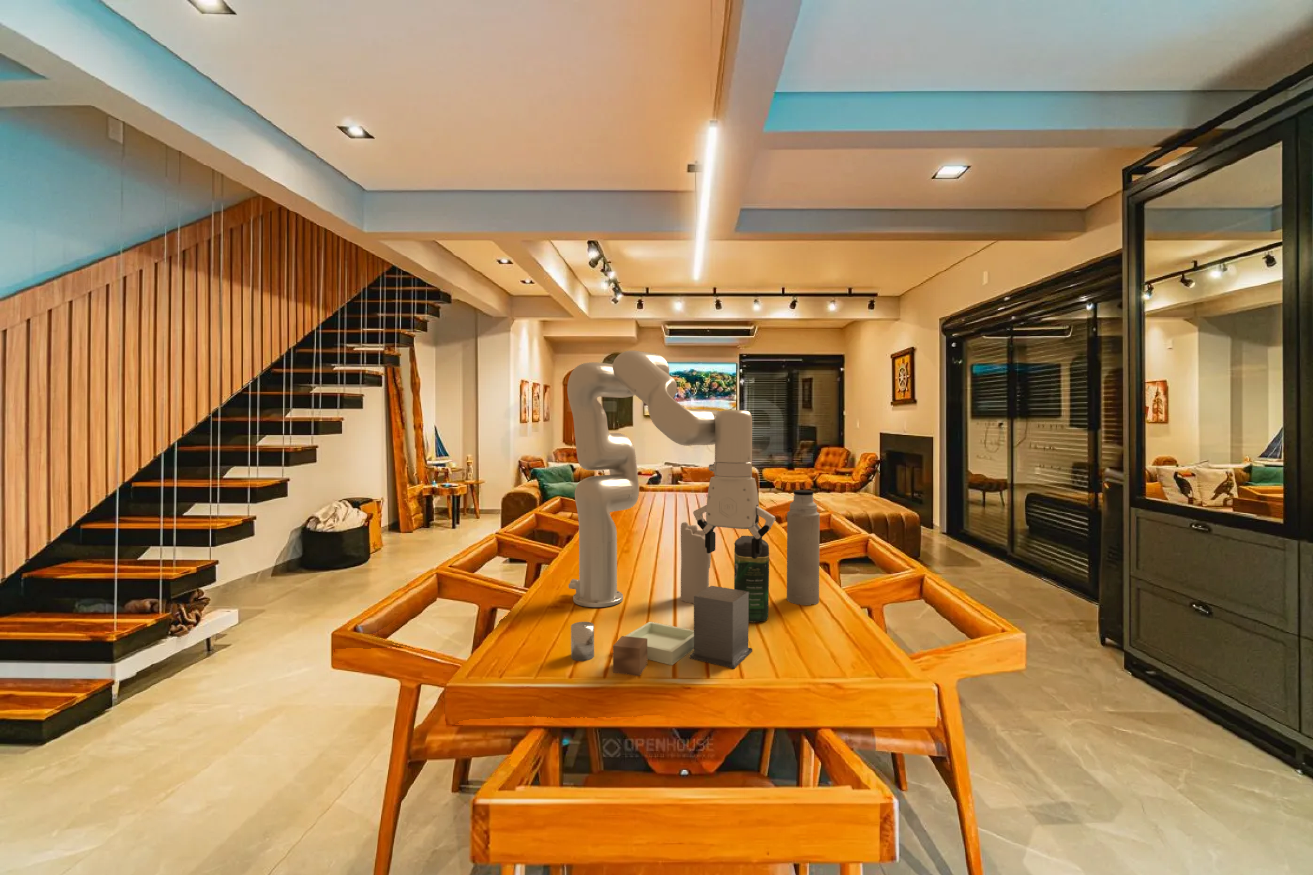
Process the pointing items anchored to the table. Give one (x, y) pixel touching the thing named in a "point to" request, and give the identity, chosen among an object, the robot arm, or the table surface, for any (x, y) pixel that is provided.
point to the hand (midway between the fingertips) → (732, 554)
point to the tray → (665, 641)
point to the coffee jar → (752, 577)
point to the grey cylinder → (582, 641)
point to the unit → (721, 626)
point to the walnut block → (630, 655)
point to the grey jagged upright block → (693, 562)
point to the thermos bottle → (803, 549)
